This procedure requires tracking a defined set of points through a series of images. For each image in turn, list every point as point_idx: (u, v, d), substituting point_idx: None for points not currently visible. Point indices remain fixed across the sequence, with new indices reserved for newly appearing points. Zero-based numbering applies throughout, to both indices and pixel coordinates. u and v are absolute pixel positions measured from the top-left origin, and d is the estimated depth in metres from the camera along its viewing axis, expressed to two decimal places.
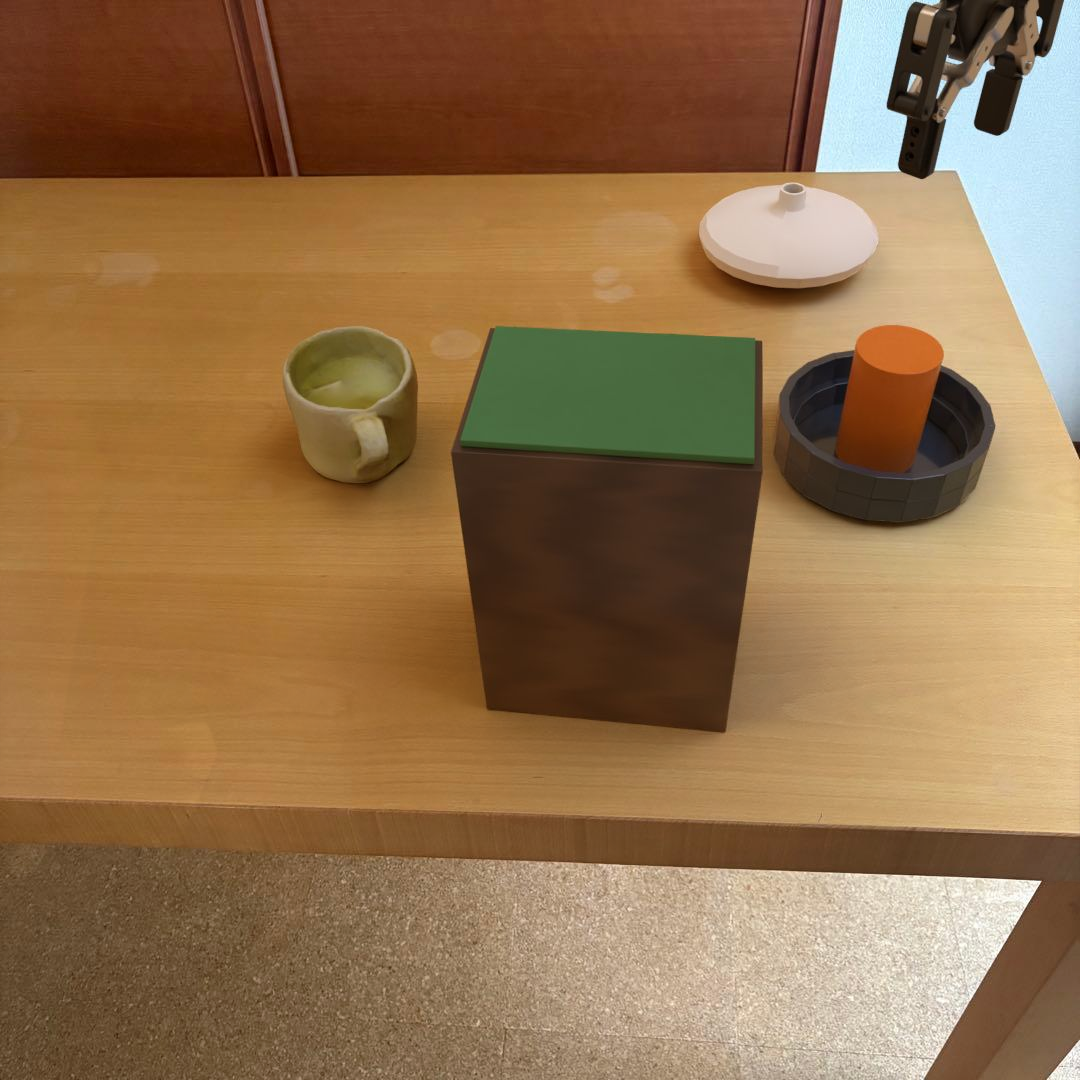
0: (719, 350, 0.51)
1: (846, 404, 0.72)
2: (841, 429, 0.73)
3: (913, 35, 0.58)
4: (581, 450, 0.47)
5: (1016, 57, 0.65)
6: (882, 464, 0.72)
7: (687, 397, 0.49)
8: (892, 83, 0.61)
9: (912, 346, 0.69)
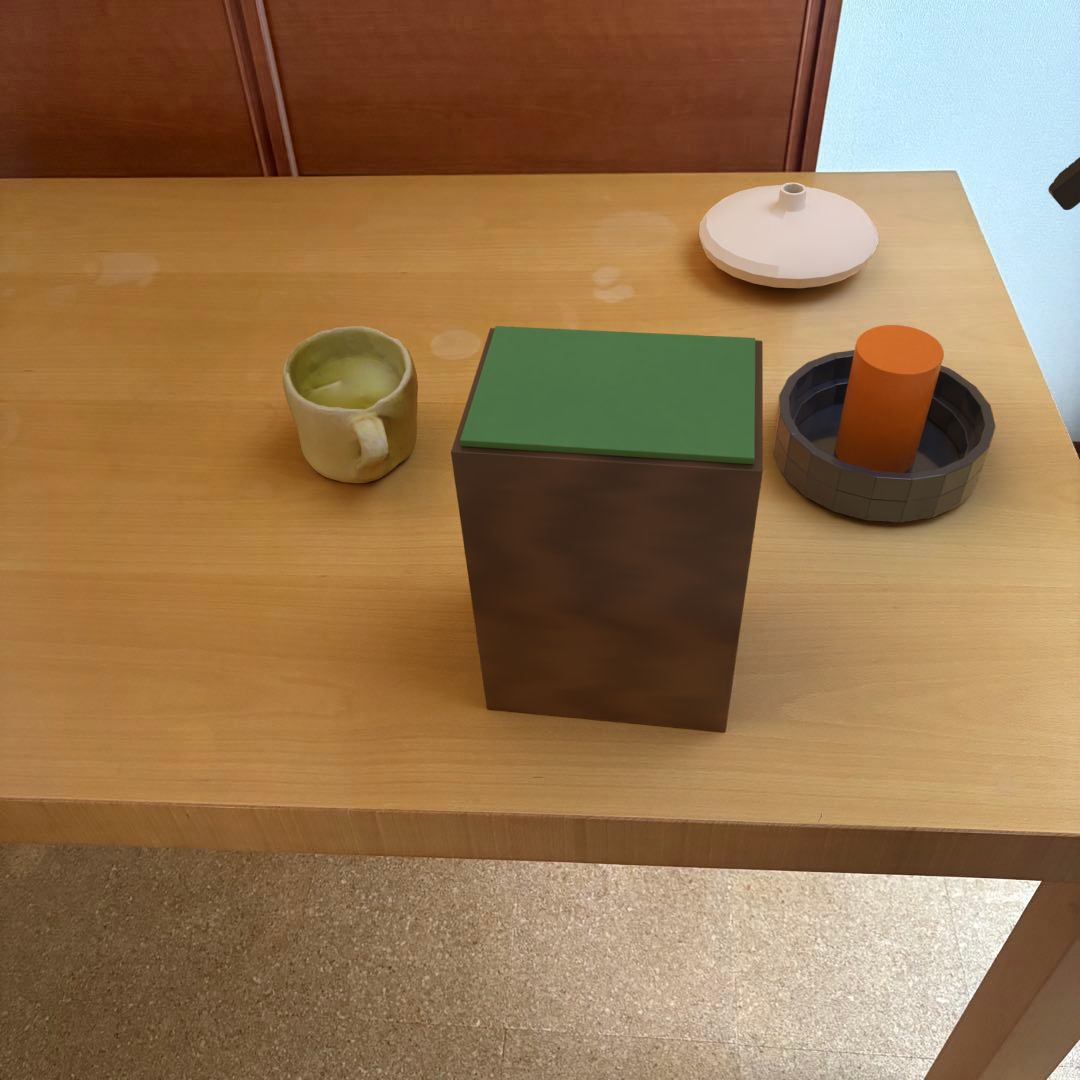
0: (719, 350, 0.51)
1: (846, 404, 0.72)
2: (841, 429, 0.73)
3: None
4: (581, 450, 0.47)
5: None
6: (882, 464, 0.72)
7: (687, 397, 0.49)
8: None
9: (912, 346, 0.69)
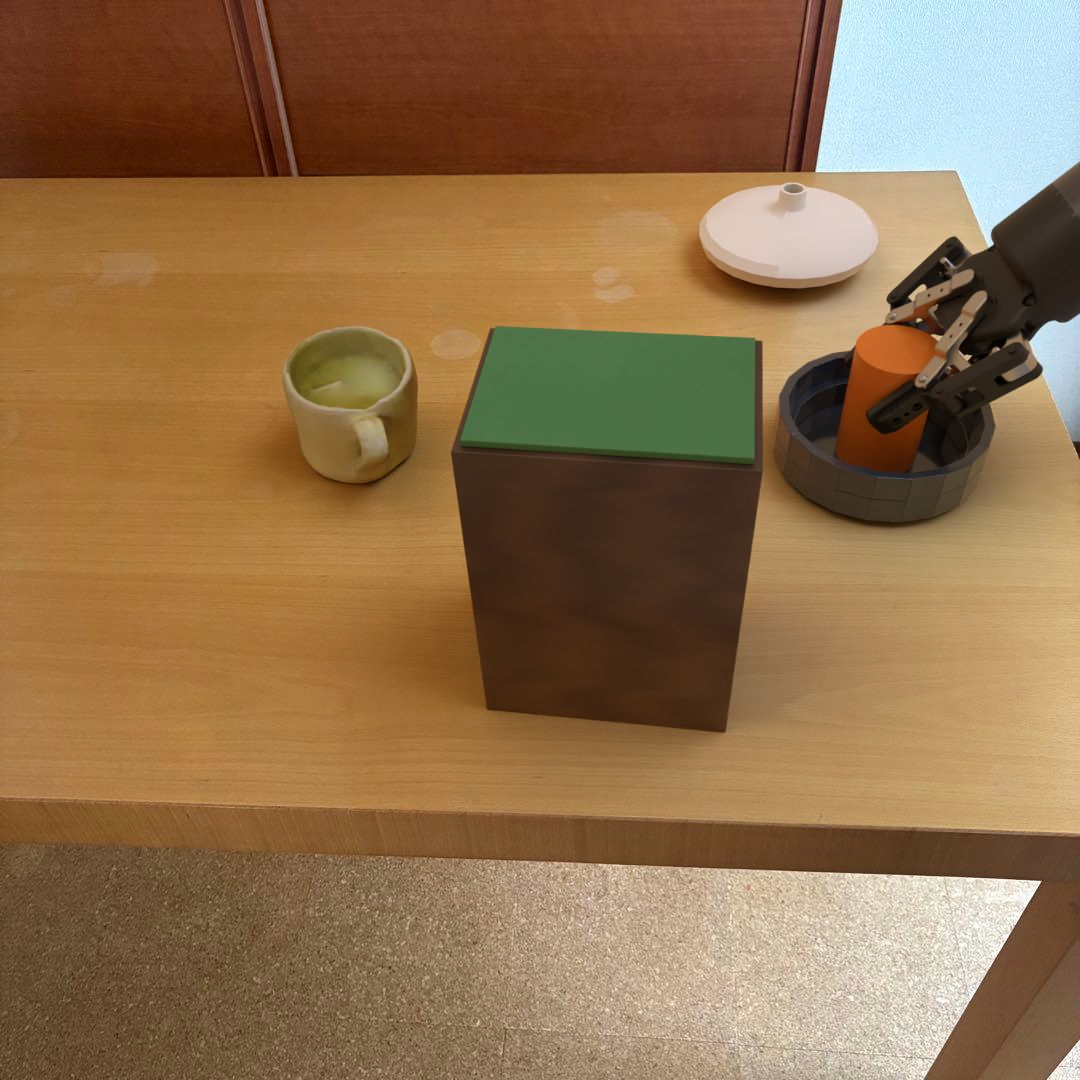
0: (719, 350, 0.51)
1: (846, 404, 0.72)
2: (841, 429, 0.73)
3: None
4: (581, 450, 0.47)
5: None
6: (882, 464, 0.72)
7: (687, 397, 0.49)
8: None
9: (911, 346, 0.69)
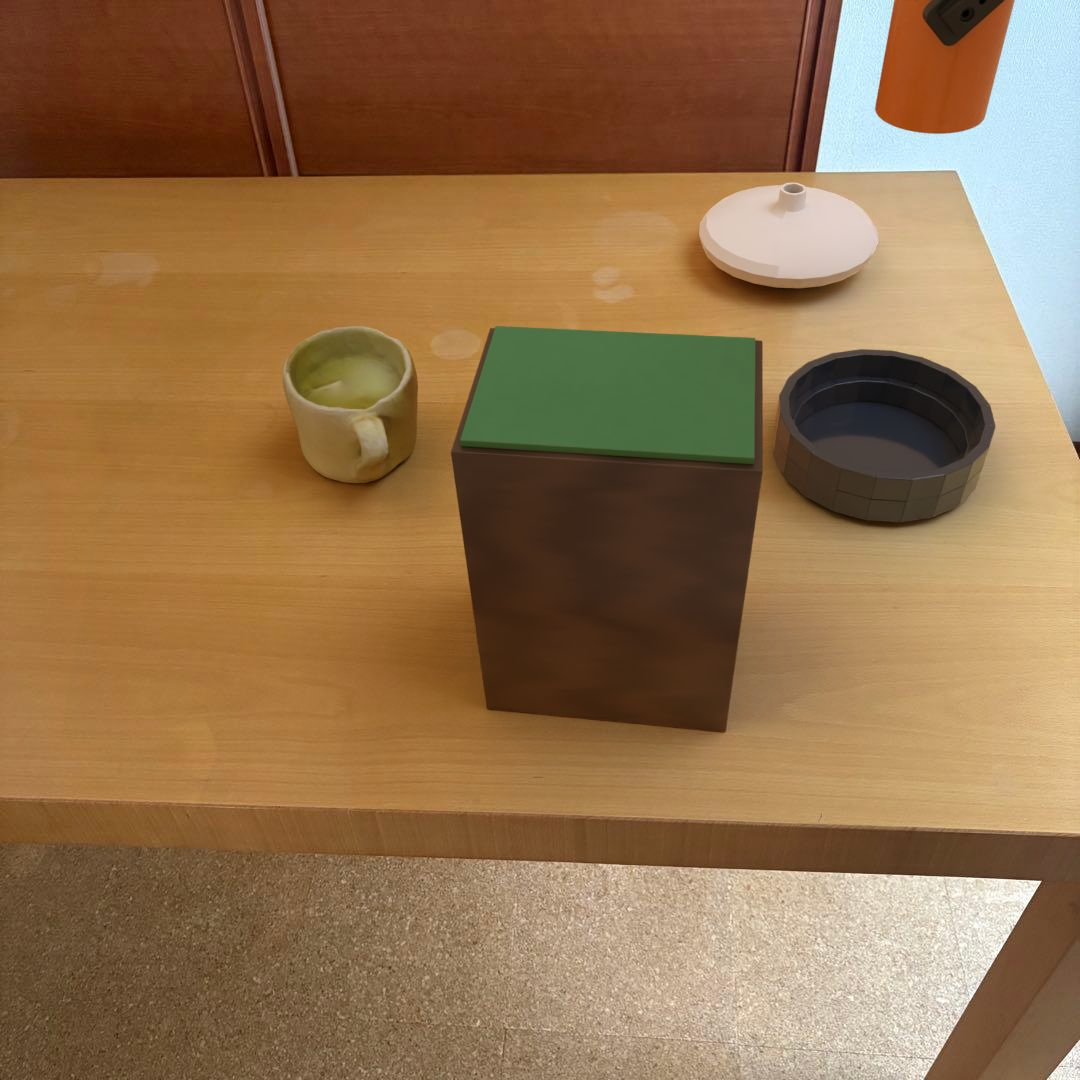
0: (719, 350, 0.51)
1: (892, 24, 0.52)
2: (885, 69, 0.54)
3: None
4: (581, 450, 0.47)
5: None
6: (942, 109, 0.52)
7: (687, 397, 0.49)
8: None
9: None
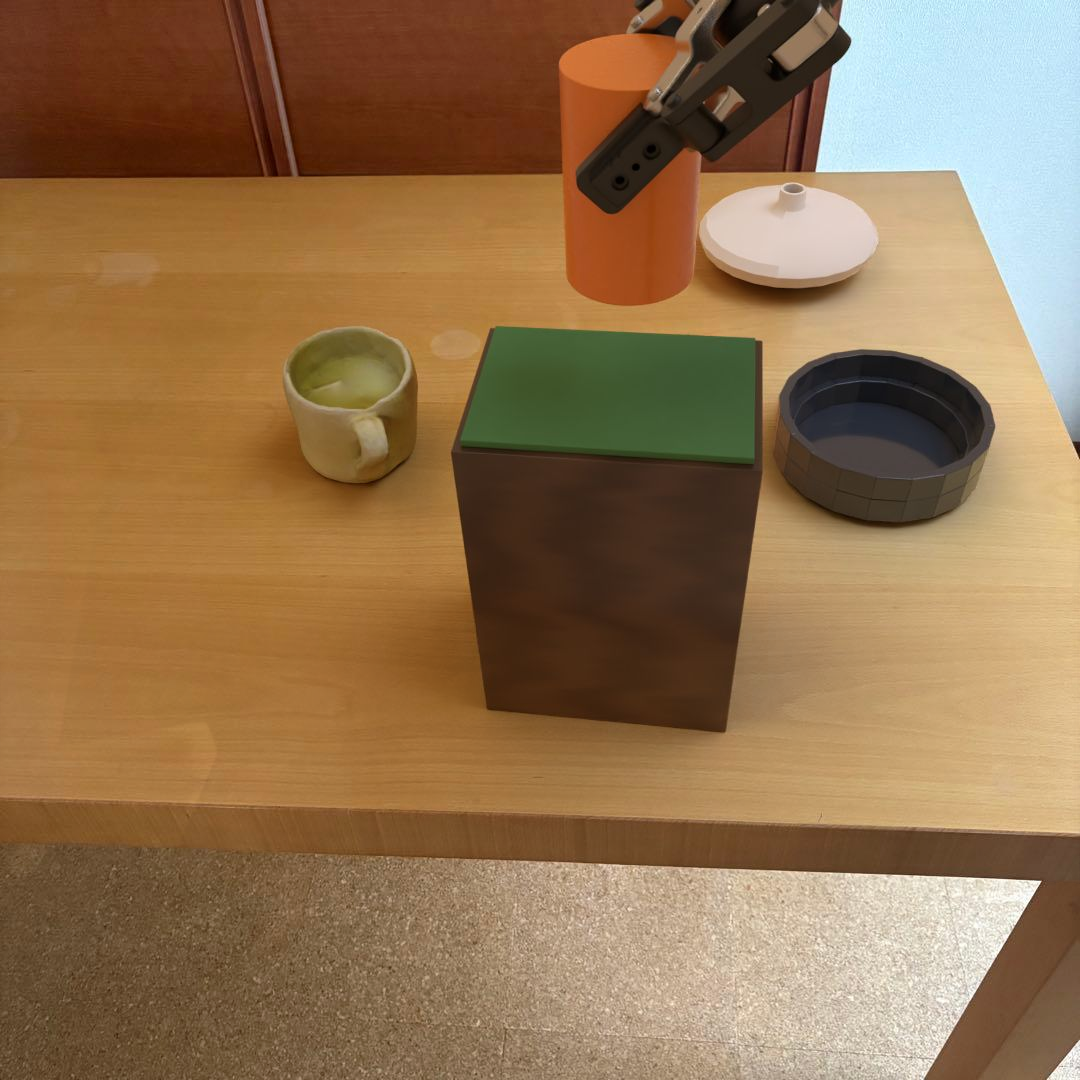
0: (719, 350, 0.51)
1: None
2: (564, 226, 0.44)
3: None
4: (581, 450, 0.47)
5: None
6: (626, 279, 0.43)
7: (687, 397, 0.49)
8: None
9: (655, 57, 0.39)
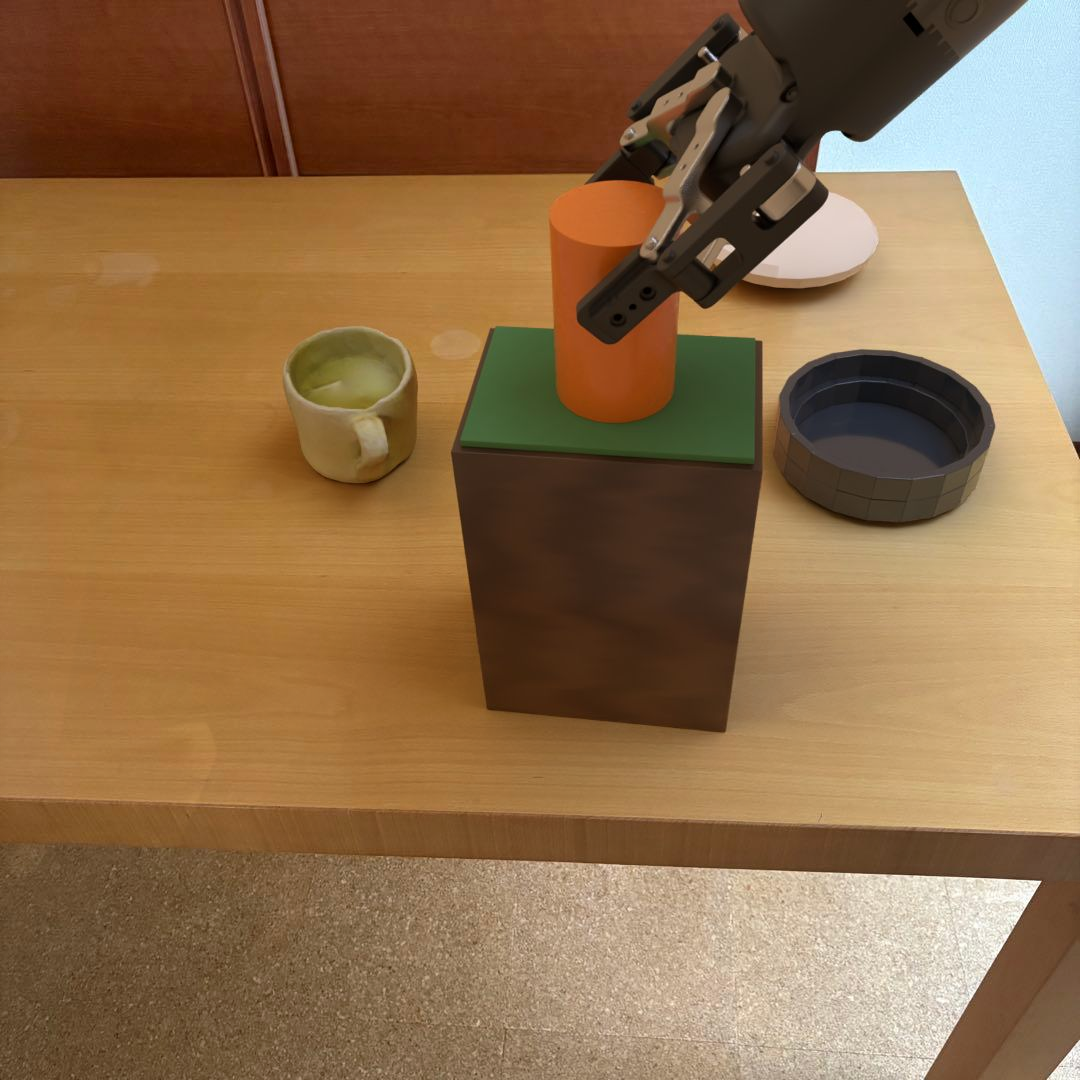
0: (719, 350, 0.51)
1: None
2: None
3: None
4: (581, 450, 0.47)
5: None
6: (611, 401, 0.47)
7: (687, 397, 0.49)
8: None
9: (636, 208, 0.43)
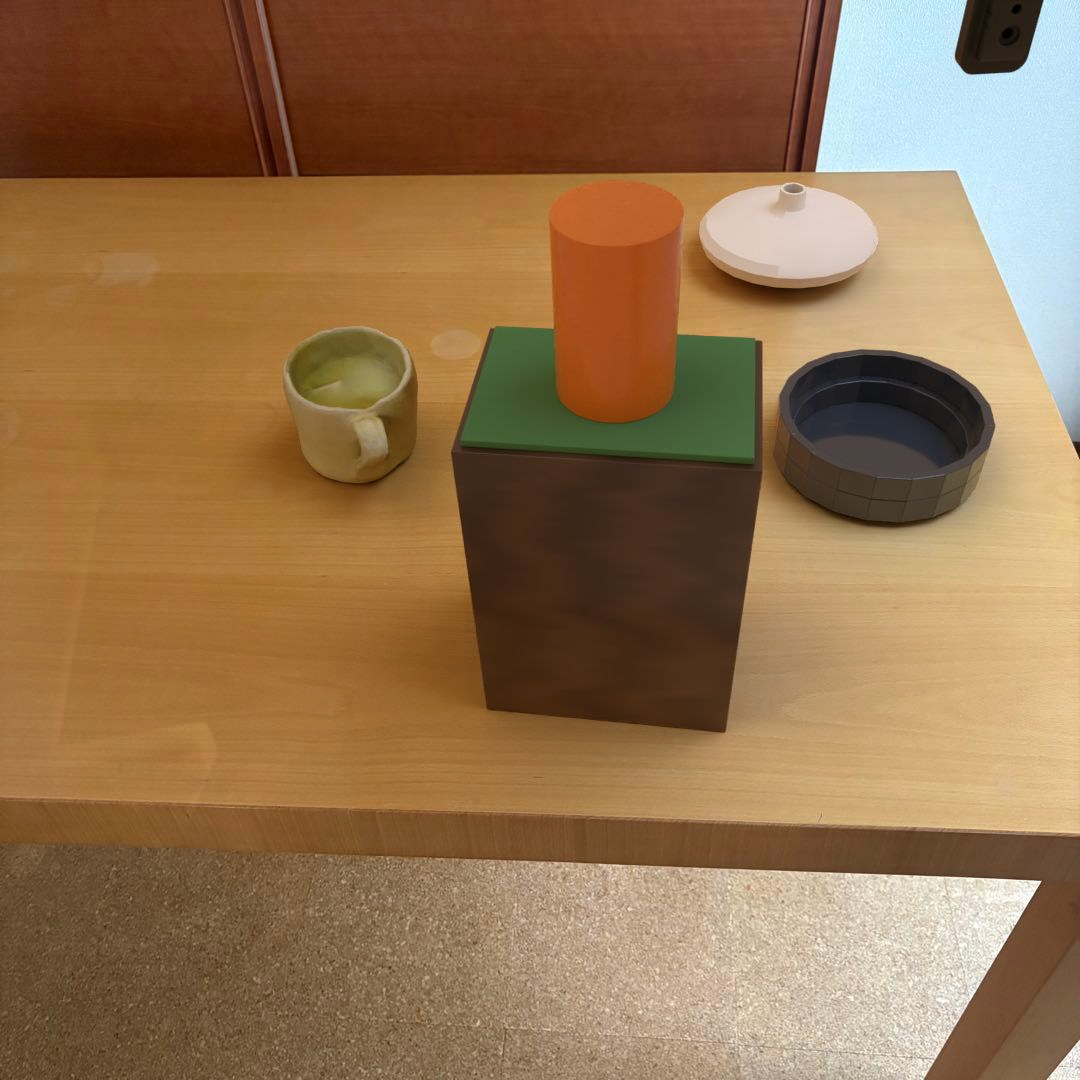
0: (719, 350, 0.51)
1: None
2: None
3: None
4: (581, 450, 0.47)
5: None
6: (611, 401, 0.47)
7: (687, 397, 0.49)
8: None
9: (636, 208, 0.43)
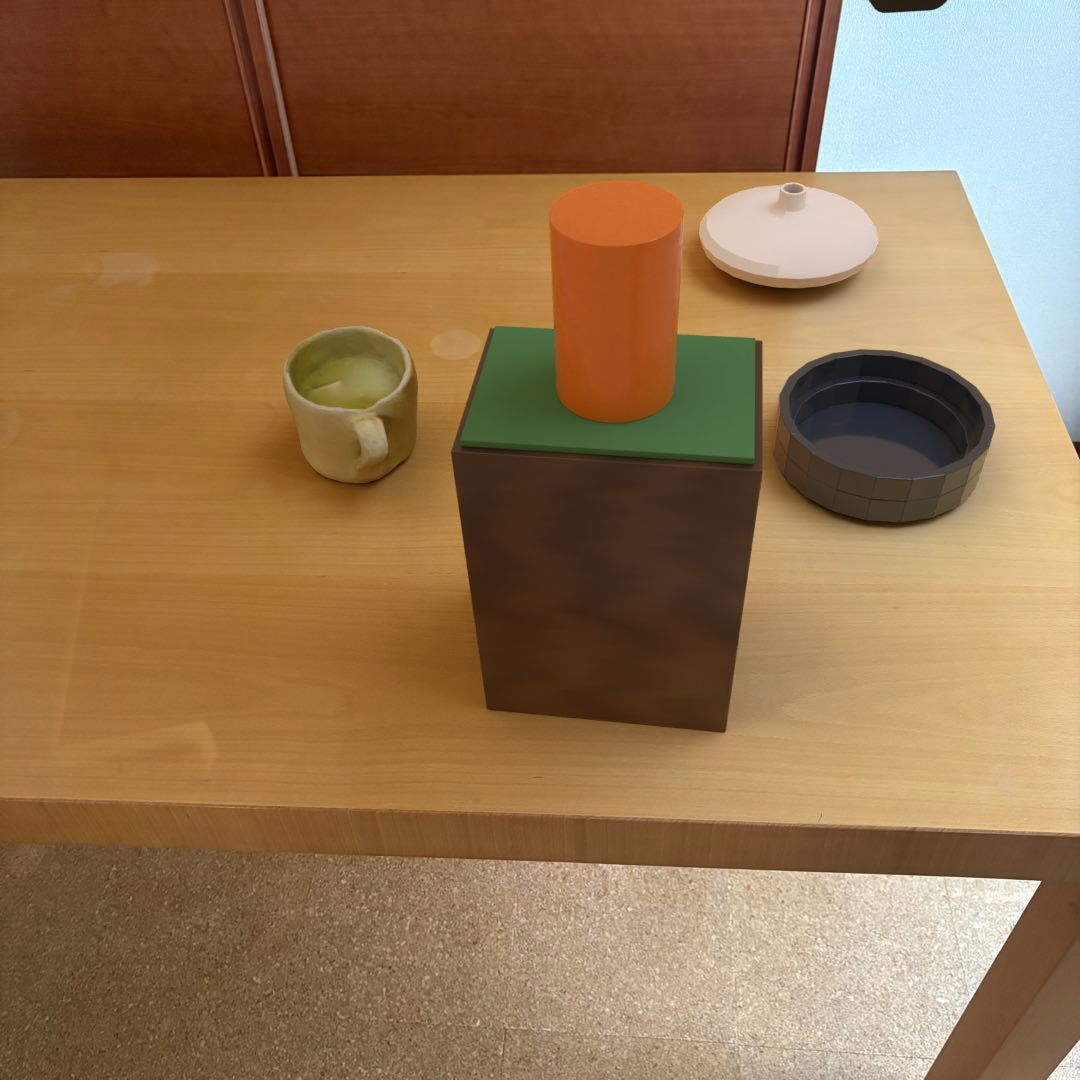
0: (719, 350, 0.51)
1: None
2: None
3: None
4: (581, 450, 0.47)
5: None
6: (611, 401, 0.47)
7: (687, 397, 0.49)
8: None
9: (636, 208, 0.43)
